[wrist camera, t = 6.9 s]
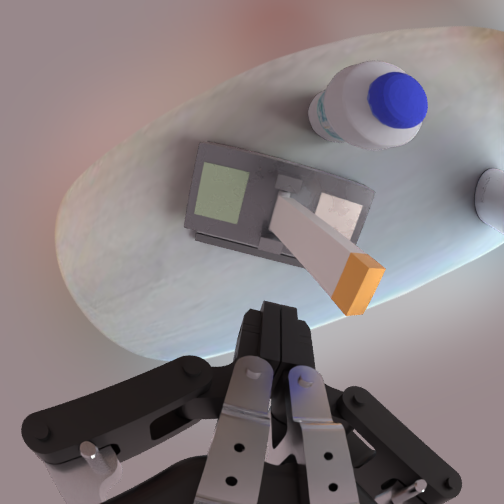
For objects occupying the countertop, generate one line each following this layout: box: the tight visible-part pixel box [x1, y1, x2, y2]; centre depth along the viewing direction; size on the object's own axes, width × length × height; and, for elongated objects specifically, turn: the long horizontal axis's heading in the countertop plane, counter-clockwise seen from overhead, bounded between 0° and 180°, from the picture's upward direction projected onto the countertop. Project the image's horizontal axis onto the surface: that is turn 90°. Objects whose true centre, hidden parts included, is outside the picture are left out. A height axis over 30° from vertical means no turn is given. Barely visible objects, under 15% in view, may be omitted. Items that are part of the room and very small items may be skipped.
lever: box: [268, 190, 386, 316], centre depth 23 cm, size 2×4×15 cm, turn 167°
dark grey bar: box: [195, 231, 305, 268], centre depth 36 cm, size 18×2×1 cm, turn 76°
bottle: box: [308, 61, 428, 150], centre depth 20 cm, size 7×7×20 cm
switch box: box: [184, 142, 375, 255], centre depth 30 cm, size 20×10×7 cm, turn 76°
